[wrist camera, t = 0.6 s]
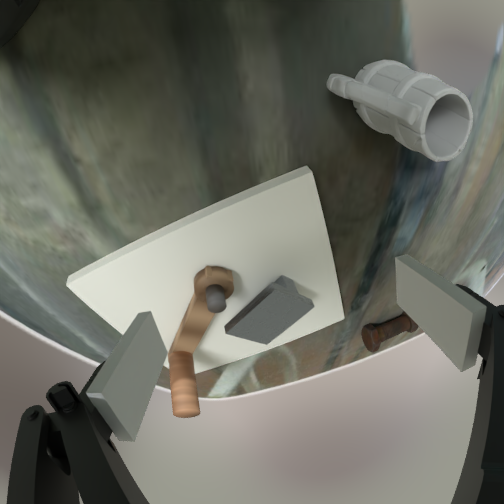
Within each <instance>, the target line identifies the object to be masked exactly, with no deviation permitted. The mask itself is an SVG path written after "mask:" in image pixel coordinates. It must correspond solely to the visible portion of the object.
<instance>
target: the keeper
mask: <svg viewBox="0 0 504 504" xmlns="http://www.w3.org/2000/svg"><path fill="white" fill-rule="evenodd" d="M314 307H315V306H314V304H313V302H312V299H309V298H307V297H305V296H303V295H300V294H299V293H298V291H297V288H296V286H295V284H294V281H293V280H292V279H290V278H288V277H286V276H284V275H281V276H280V277H279V278H278V279H277V280H276V281H275V282H271V283H270V284H269V285H268V286H267V287H266V288H265V289H264V290H263V291H262V292H260V293H259V294H258V295H257V296H256V297H255V298H254V299H253V300H252V301H251V302H250V303H249V304H248V305H246V306H245V307H244V308H243V309H242V310H241V311H240V312H239V313H238V314H237V315H236V316H234V317H233V318H232V319H231V320H230V321H229V322H228V323H227V324H226V325H225V326H224V328H225V334H228V335H232V336H235V337H239V338H243V339H246V340H250V341H254V342H258V343H261V344H265V345H267V344H269V343H270V342H271V341H273V340H274V339H275V338H276V337H278V336H279V335H280V334H282V333H283V332H284V331H285V330H287V329H288V328H289V327H290V326H292V325H293V324H294V323H295V322H297V321H298V320H299V319H300V318H302V317H303V316H304V315H305V314H307V313H308V312H309V311H310V310H311V309H313V308H314Z"/></svg>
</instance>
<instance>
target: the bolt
mask: <svg viewBox="0 0 504 504" xmlns="http://www.w3.org/2000/svg"><path fill="white" fill-rule="evenodd" d="M418 327H419V326H418V325H417V324H416V323H415V322H414V321H413V319H412V318H411V317H410V316H409V315H408V314H407V313H406V312H405V311H404V312H403V313H402V316H401V317H399V318H396V319H394V320H392V321H389V322H387V323H385V324H382V325H380V326H376V327H374V326H373V325H371V324H367V325H365V326H364V327H363V328H362V339H363V342H364V344H365V346H366V348H367V349H368V350H369V351H370V352H375V351H378V349H379V347H380V344H381V342H384V341H385V340H387V339H389V338H392V337H393V336H396V335H398V334H400V333H402V332H404V331H408V332H411V333H412V332H414V331H416V330H417V328H418Z"/></svg>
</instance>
